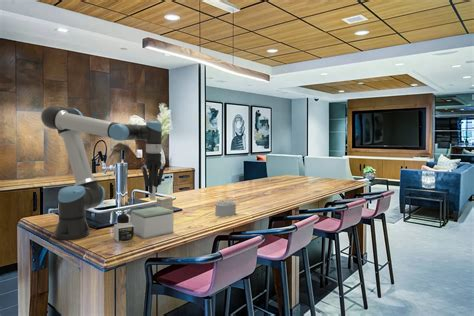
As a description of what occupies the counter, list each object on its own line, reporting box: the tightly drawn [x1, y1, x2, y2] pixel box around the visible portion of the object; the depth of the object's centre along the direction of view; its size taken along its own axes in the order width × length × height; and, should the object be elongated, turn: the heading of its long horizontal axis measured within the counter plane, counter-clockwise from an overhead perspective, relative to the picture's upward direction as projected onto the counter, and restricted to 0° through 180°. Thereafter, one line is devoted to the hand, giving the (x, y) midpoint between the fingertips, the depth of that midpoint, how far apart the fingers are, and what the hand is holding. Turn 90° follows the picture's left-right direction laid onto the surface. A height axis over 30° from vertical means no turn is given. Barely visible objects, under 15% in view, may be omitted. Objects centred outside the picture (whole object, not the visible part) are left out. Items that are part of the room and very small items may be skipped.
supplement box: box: [156, 196, 174, 211], centre depth 197 cm, size 8×5×13 cm, turn 141°
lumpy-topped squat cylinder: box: [214, 199, 237, 218], centre depth 213 cm, size 10×13×9 cm
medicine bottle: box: [113, 213, 135, 244], centre depth 159 cm, size 7×7×12 cm
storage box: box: [130, 212, 174, 240], centre depth 172 cm, size 16×14×10 cm
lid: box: [130, 206, 174, 217], centre depth 171 cm, size 16×14×1 cm
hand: (152, 199), depth 170 cm, fingers closed
